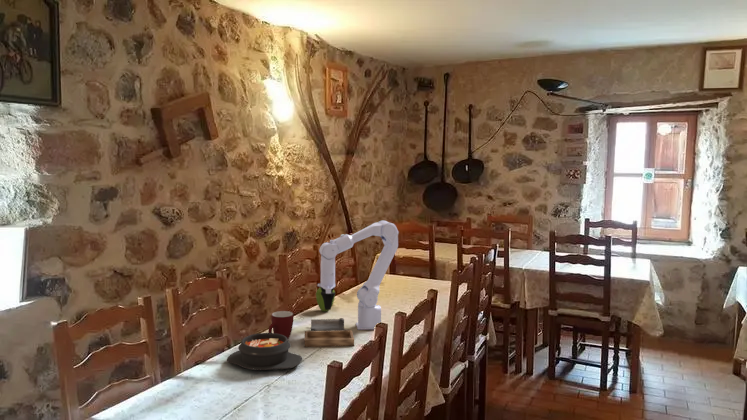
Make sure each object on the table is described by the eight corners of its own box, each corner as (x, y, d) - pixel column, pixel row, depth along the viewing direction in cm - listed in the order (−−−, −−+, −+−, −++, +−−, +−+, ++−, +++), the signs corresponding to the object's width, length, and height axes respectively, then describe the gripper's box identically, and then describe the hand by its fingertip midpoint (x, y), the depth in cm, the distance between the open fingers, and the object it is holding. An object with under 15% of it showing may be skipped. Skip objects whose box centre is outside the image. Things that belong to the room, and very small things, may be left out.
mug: (279, 347, 193) (279, 320, 192) (262, 343, 197) (262, 316, 196) (297, 339, 202) (297, 313, 201) (280, 335, 206) (281, 309, 205)
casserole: (216, 371, 171) (216, 345, 170) (242, 350, 189) (242, 327, 188) (290, 379, 165) (290, 353, 165) (309, 357, 184) (310, 334, 183)
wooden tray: (351, 336, 206) (351, 330, 205) (354, 346, 196) (354, 339, 196) (304, 337, 203) (304, 331, 203) (304, 347, 194) (304, 340, 193)
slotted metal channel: (343, 328, 215) (343, 317, 215) (343, 330, 213) (344, 319, 213) (310, 329, 214) (310, 318, 213) (310, 331, 211) (310, 319, 211)
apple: (322, 315, 233) (323, 289, 232) (311, 310, 239) (312, 285, 238) (338, 311, 239) (339, 286, 238) (327, 307, 245) (327, 282, 244)
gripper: (317, 269, 218) (317, 302, 219) (318, 277, 204) (317, 312, 205) (334, 269, 219) (334, 301, 220) (336, 277, 204) (336, 311, 206)
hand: (327, 306), depth 213 cm, fingers open, 7 cm apart
